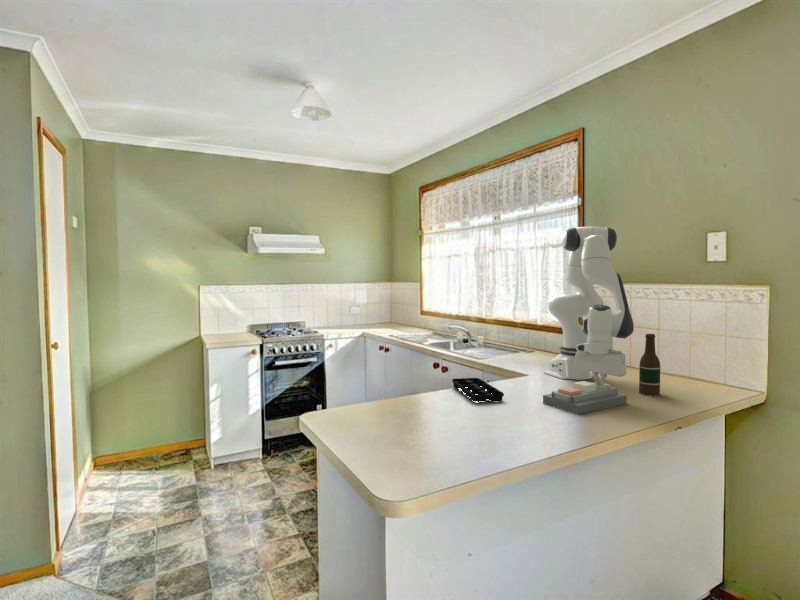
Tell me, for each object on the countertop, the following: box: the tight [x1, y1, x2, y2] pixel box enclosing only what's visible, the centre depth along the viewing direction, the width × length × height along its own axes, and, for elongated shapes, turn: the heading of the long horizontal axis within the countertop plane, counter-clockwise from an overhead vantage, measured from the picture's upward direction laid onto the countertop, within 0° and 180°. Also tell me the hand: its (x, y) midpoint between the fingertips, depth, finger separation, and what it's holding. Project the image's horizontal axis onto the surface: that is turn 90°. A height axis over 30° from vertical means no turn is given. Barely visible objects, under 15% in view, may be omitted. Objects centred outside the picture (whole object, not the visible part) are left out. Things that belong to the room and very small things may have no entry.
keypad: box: [542, 386, 628, 415], centre depth 168 cm, size 16×26×5 cm, turn 118°
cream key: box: [572, 380, 596, 393], centre depth 168 cm, size 6×6×3 cm
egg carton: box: [451, 377, 505, 402], centre depth 184 cm, size 18×30×4 cm, turn 23°
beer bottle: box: [638, 333, 661, 397], centre depth 179 cm, size 8×8×24 cm
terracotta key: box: [557, 386, 581, 396], centre depth 164 cm, size 6×6×3 cm
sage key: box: [592, 381, 611, 390], centre depth 171 cm, size 6×6×3 cm
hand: (599, 384), depth 171 cm, fingers closed, pressing on sage key
